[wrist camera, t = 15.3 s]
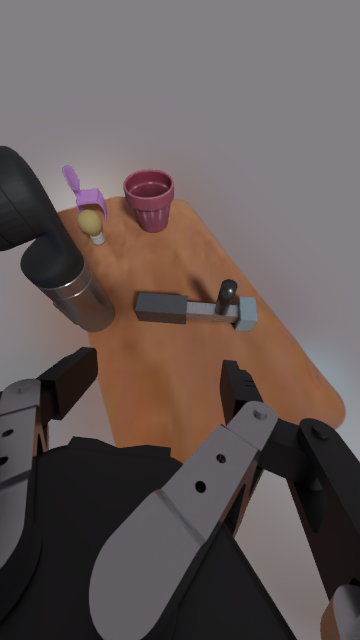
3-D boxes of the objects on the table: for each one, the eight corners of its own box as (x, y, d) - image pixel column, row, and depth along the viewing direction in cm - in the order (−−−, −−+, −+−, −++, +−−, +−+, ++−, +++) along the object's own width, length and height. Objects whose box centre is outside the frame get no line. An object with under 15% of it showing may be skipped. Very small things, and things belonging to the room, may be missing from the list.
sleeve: (139, 320, 48) (134, 310, 44) (143, 303, 51) (139, 292, 46) (185, 324, 48) (186, 314, 43) (187, 307, 50) (187, 295, 46)
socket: (235, 330, 47) (241, 319, 42) (234, 308, 49) (239, 296, 45) (249, 331, 47) (257, 320, 42) (248, 309, 49) (255, 297, 44)
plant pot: (181, 231, 63) (181, 190, 52) (140, 243, 61) (130, 203, 50) (166, 206, 69) (163, 164, 58) (128, 216, 67) (117, 175, 56)
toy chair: (107, 223, 66) (88, 173, 52) (81, 226, 65) (55, 176, 52) (108, 208, 69) (90, 158, 56) (83, 211, 69) (59, 161, 56)
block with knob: (167, 317, 48) (162, 287, 37) (169, 306, 49) (165, 275, 38) (243, 323, 46) (262, 294, 36) (243, 312, 48) (260, 281, 37)
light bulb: (85, 245, 61) (68, 215, 52) (97, 233, 64) (83, 202, 55) (101, 251, 60) (87, 222, 51) (113, 238, 62) (102, 208, 53)
